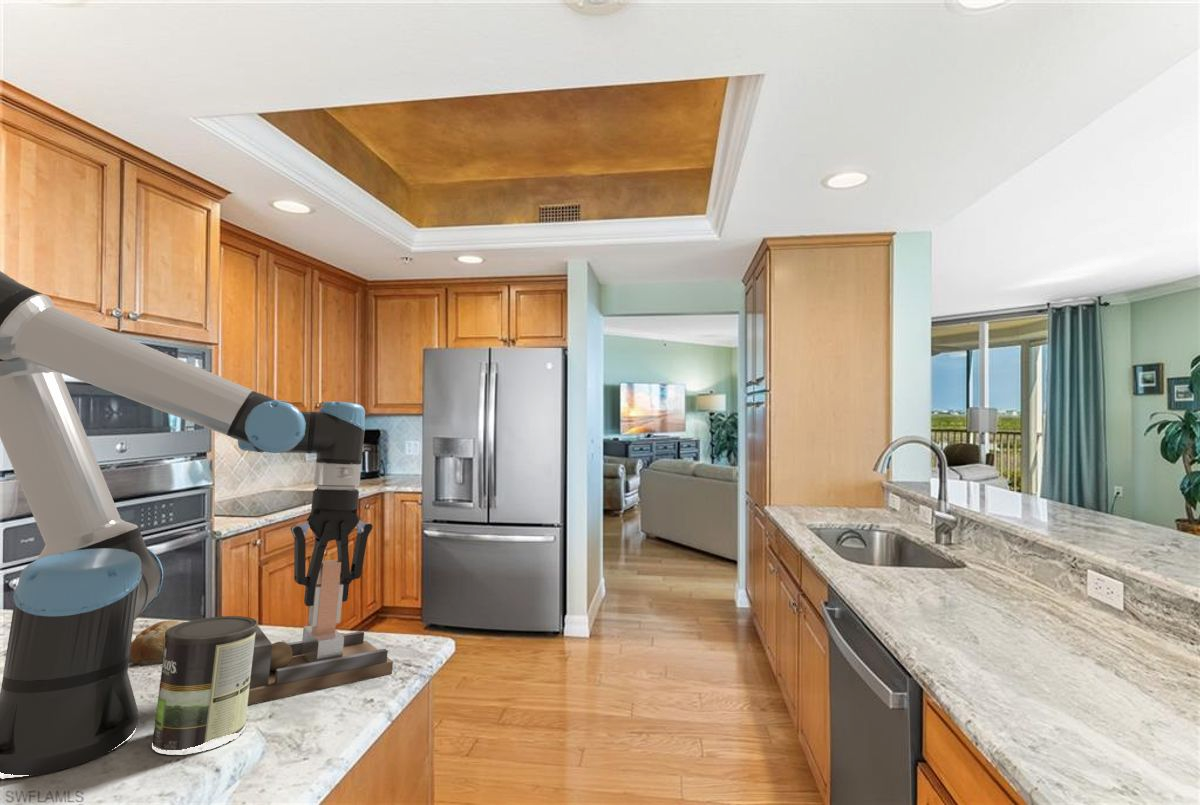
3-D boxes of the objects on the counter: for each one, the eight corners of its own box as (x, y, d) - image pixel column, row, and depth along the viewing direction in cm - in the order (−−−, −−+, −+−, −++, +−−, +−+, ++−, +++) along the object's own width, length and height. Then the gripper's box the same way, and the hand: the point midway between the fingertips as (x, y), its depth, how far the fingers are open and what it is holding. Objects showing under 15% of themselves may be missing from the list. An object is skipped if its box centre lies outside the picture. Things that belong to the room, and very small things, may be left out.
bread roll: (145, 689, 94) (167, 647, 94) (106, 657, 97) (127, 616, 97) (197, 669, 104) (217, 631, 104) (161, 640, 106) (180, 603, 106)
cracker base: (245, 705, 81) (251, 649, 82) (231, 676, 92) (236, 627, 93) (391, 673, 96) (395, 626, 97) (365, 651, 106) (368, 608, 107)
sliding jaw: (315, 670, 90) (325, 567, 92) (301, 653, 97) (310, 558, 99) (341, 665, 92) (350, 564, 94) (325, 649, 100) (333, 556, 102)
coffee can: (151, 766, 65) (166, 642, 67) (150, 731, 73) (164, 622, 75) (252, 740, 72) (263, 629, 73) (241, 712, 79) (252, 612, 81)
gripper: (291, 488, 90) (276, 636, 87) (389, 489, 101) (378, 620, 98) (281, 486, 96) (267, 625, 93) (374, 486, 106) (364, 611, 103)
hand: (324, 622), depth 95 cm, fingers closed on sliding jaw, 3 cm apart
